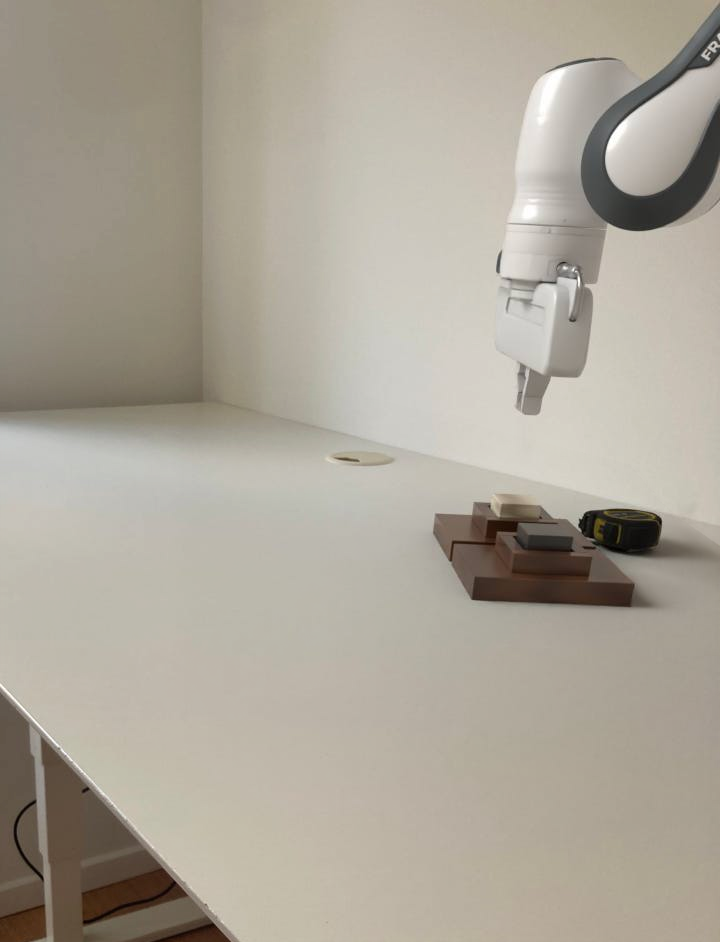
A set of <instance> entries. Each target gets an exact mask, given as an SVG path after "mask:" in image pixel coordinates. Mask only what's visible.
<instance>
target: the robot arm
mask: <svg viewBox="0 0 720 942" xmlns="http://www.w3.org/2000/svg"><path fill="white" fill-rule="evenodd" d="M518 138H519V139H518V143H517V149H516V155H515V162H514V167H513V168H514V169H513V177H514V186H515V187H514V188H515V190H514V200H513V204H512V207H511V209H510V211H509V214H508V217H507V220H506V225H505V233H504V240H503V244H502V248H501V250H500V251H499V252H498V253H497V256H496V259H495V267H494V274H495V275H496V277H499V278H500V279H499V282H498V287H497V294H496V295H497V296H496V306H495V307H496V308H495V319H494V321H495V322H494V346H495V350H496V351H497V352H498V353H501V354H502V355H504V356H506V357H509V358H510V359H511V360H514V361H516V365H515V391H516V393H515V394H516V395H515V401H514V408H515V409H516V410H518V411H519V412H520V413H522V415H524V416H537V415H539V414H540V413H541V409H542V404H543V398H544V396H545V393H546V391H547V389H548V386H549V384H550V383H551V378H552V377H553V378H566V379H567V378H568V379H569V378H572V379H578V378H580V377H581V375H582V374H583V371H584V370H585V367H586V364H587V360H588V353H589V345H590V340H591V339H590V338H591V330H592V323H593V322H592V321H593V312H594V296H593V292H592V290H591V289H590V288H589V287H587V286H586V285H596V284H597V283H598V281H599V274H600V270H601V263H602V259H603V252H604V246H605V240H606V235H607V229H608V225H610V226H612V227H615V228H617V229H620V230H624V231H628V232H649V231H653V230H654V231H655V230H657V229H664V228H667V229H668V228H675V227H680V226H683V225H687V224H689V223H691V222H693V221H695V220H697V219H698V218H700V217H702V216H704V215H705V214H707V213H708V212H710V210H712V209H713V208H714V207H715V206H716V205H717V204H718V203H719V202H720V2H718V4H717V5H716V6H715V7H714V9H713V10H712V12H710V14H709V15H708V17H707V18H706V19H705V20H704V21H703V23H702V24H701V25H700V27H699V28H698V29H697V30H696V32H695V33H694V34H693V36H691V38H690V39H689V40H688V41H687V43H686V44H685V45H684V47H683V48H682V49H681V50H680V51H679V52H678V53H677V54H676V56H675V57H674V58H672V60H671V61H670V62H669V63H667V65H665V66H664V67H663V68H662V69H661V70H659V71H658V72H657V73H656V74H655V75H653V76H652V77H650V78H649V79H647V80H644V79H643V78H642V77H640V76H639V75H638V74H636V73H635V72H634V71H633V70H632V69H631V68H630V67H629V66H628V65H627V64H626V63H625V61H623V60H622V59H617V58H615V57H588V58H581V59H577V60H572V61H568V62H565V63H562V64H559V65H556V66H555V67H553V68H551V69H549V70H547V71H546V72H544V73H543V74H542V75H541V76H540V77H538V79H537V81H536V82H535V84H534V85H533V87H532V90H531V92H530V94H529V97H528V100H527V103H526V106H525V112H524V115H523V119H522V123H521V129H520V133H519V137H518Z"/></svg>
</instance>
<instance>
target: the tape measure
mask: <svg viewBox="0 0 720 942" xmlns="http://www.w3.org/2000/svg"><path fill="white" fill-rule="evenodd" d="M662 519H663V518H662V517H661V516H660V515H658V514H656V513H655V512H651V511H648V510H647V511H646V510H641V509H634V508H605V509H592V510H591V509H590V510H587V511H585V512H584V513H583V515H582V517H581V518H580V517H579V518H578V524H577V527H578V529H580V532H581V533H582V534H583V535H584V536H585V537H586V538H587V539H591V540H595V541H596V542H597V543H598V544H600V545H603V546H605V547H609V548H614V549H620V550H624V551H626V553H627V552H628V553H632V552H641V551H644V550H650V549H653V548H655V547H657V546H658V544H659V542H660V539H661V535H662V528H663V520H662Z"/></svg>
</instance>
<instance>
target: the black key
mask: <svg viewBox="0 0 720 942" xmlns="http://www.w3.org/2000/svg"><path fill="white" fill-rule="evenodd" d="M516 541H517V542H518V543H519V545H520V546H521V547H522V548H523V549H524V550H535V551H558V552H571V549H572V543H573V536H572V535H571V534H570V533H569V532H568V531H567V530H566V529H565V528H564V527H563V526H562V525H559V524H536V523H518V528H517V534H516Z"/></svg>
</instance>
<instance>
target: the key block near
mask: <svg viewBox="0 0 720 942" xmlns="http://www.w3.org/2000/svg"><path fill="white" fill-rule="evenodd" d="M516 534H517V532H497V536H496V543H495V545H474V544H454V548H453V556H452V562H451V567H452V569H453V571H454V572H455V573H456V575H457V577H458V579H459V581H460V582H461V584H462V587H464V589H465V591H466V593H467V595H468V596H469V598H470V600H471V601H483V602H484V601H487V602H509V603H529V604H553V605H554V604H556V605H576V606H597V607H598V606H601V607H622V608H623V607H624V608H630V607H631V606H632V600H633V596H634V590H635V585H636V583H635V582H633V580H632V579H630V577H628V576H627V575H626V573H624V572H623V571H622V570H621V569H620V568H619V567H618V566H617V565H616V564H615V563H614V562H612V560H610V558H608V557H607V556H606V555H605V554H604V553H603V552H602V551H601V550H600V549H595V550H589V549H584V548H583V547H582V546H581V545H580V544H579V543H578V542H577V541H576V540H575V539H573V543H572V549H571V552H558V551H535V550H524V549H523V548H522V547H521V546H520V545H519V543H518V542H517V541H516Z"/></svg>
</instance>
